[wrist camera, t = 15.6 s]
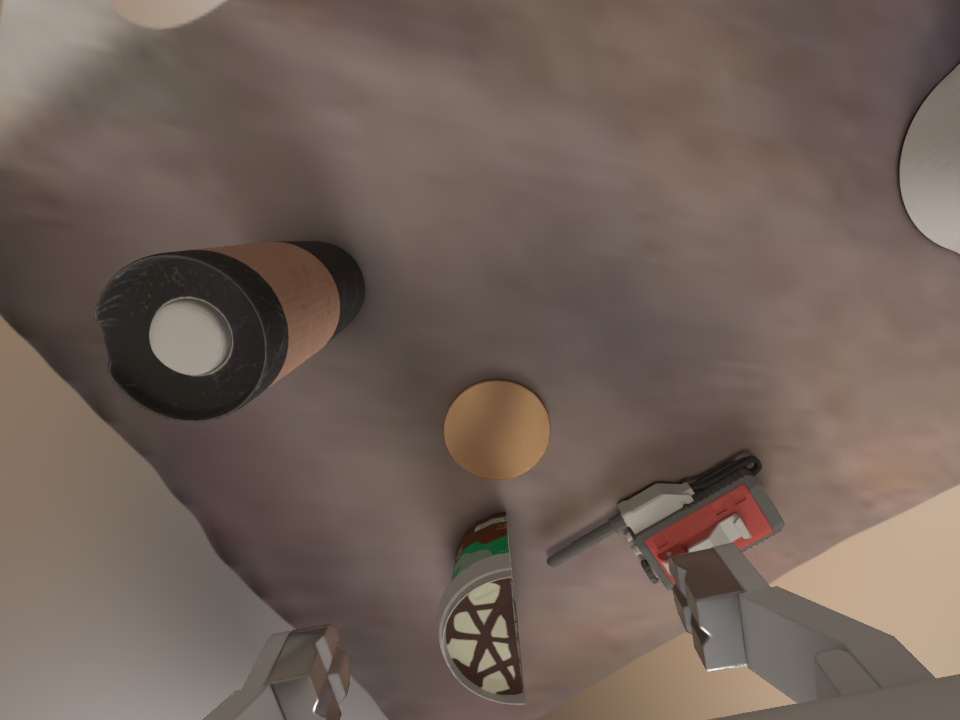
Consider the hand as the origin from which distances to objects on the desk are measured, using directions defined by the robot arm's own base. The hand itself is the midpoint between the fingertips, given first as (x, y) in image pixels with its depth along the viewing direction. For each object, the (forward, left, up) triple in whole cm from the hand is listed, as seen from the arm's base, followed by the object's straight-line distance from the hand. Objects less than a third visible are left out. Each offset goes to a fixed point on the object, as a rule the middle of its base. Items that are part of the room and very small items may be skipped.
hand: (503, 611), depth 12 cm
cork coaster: (+1, +8, -31) cm, 32 cm away
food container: (+6, +20, -31) cm, 38 cm away
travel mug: (+12, -7, -31) cm, 34 cm away
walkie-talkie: (-11, +20, -31) cm, 39 cm away
